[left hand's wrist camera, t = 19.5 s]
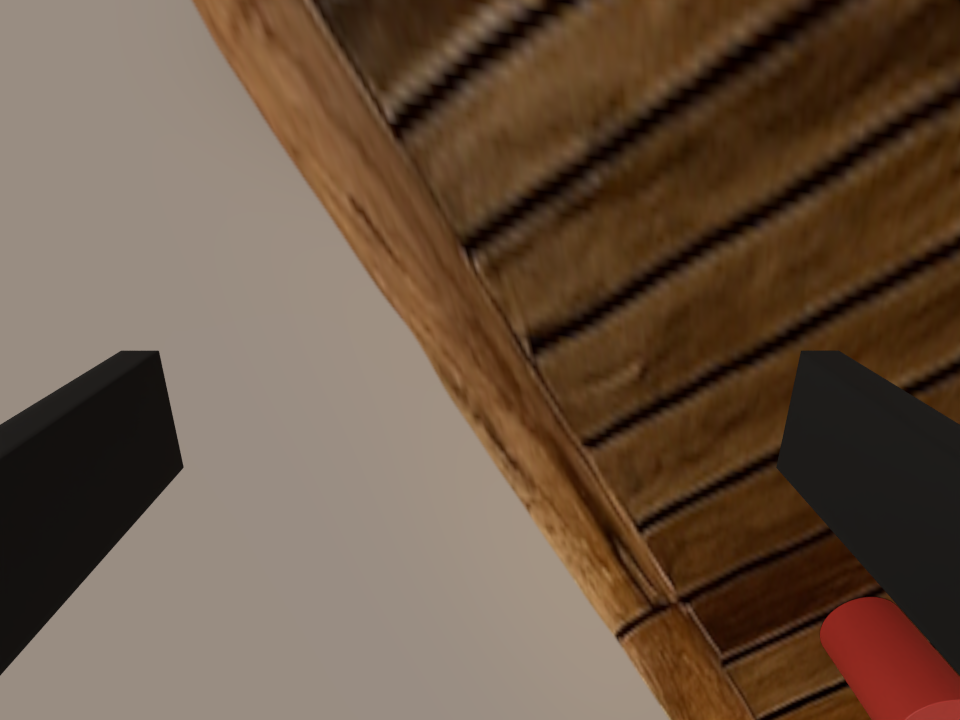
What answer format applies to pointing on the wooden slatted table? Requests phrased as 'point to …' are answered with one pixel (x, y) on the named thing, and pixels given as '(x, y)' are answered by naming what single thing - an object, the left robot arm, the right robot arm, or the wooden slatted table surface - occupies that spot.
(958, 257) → the wooden slatted table surface
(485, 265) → the wooden slatted table surface
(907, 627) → the cylinder
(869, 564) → the left robot arm
